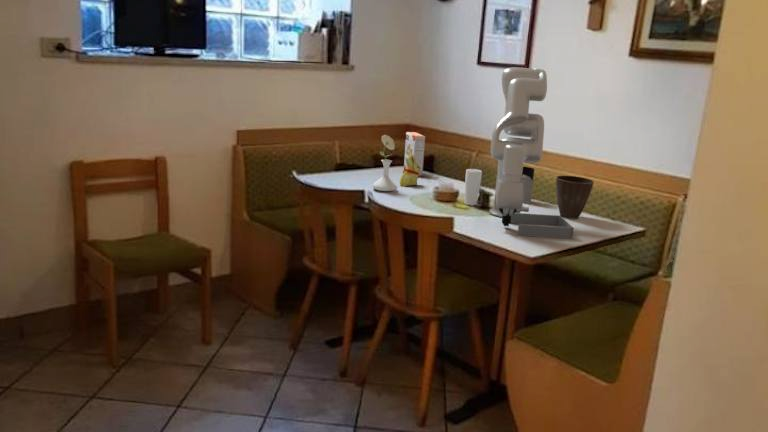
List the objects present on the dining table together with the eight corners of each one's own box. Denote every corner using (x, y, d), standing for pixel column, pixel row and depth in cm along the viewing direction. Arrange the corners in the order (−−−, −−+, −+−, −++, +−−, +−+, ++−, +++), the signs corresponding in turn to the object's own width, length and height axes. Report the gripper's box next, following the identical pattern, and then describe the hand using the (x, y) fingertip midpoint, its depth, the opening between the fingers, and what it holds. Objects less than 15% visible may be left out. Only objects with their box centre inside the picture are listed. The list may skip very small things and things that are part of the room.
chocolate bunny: (421, 185, 318) (424, 154, 315) (403, 187, 312) (405, 155, 309) (413, 182, 324) (415, 152, 320) (395, 184, 318) (397, 153, 314)
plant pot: (573, 211, 286) (578, 175, 282) (595, 220, 272) (601, 182, 268) (544, 212, 280) (549, 175, 276) (565, 222, 267) (570, 183, 263)
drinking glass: (477, 203, 289) (480, 169, 286) (479, 206, 283) (483, 172, 279) (461, 202, 289) (465, 168, 285) (463, 206, 283) (467, 171, 279)
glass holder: (510, 201, 297) (514, 168, 294) (514, 195, 311) (518, 163, 307) (530, 204, 295) (534, 170, 291) (533, 197, 308) (537, 166, 304)
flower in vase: (401, 192, 299) (405, 137, 293) (377, 193, 295) (381, 137, 289) (390, 186, 311) (394, 133, 305) (367, 187, 307) (370, 133, 301)
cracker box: (402, 171, 352) (405, 131, 347) (413, 171, 354) (416, 131, 349) (411, 176, 339) (414, 135, 334) (422, 176, 341) (426, 135, 336)
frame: (558, 225, 261) (560, 215, 260) (572, 238, 243) (573, 228, 242) (508, 222, 260) (509, 212, 259) (518, 235, 243) (519, 224, 242)
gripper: (528, 177, 251) (523, 223, 255) (489, 174, 250) (484, 221, 255) (533, 181, 243) (527, 229, 248) (493, 178, 243) (487, 227, 248)
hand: (505, 225), depth 251 cm, fingers closed
